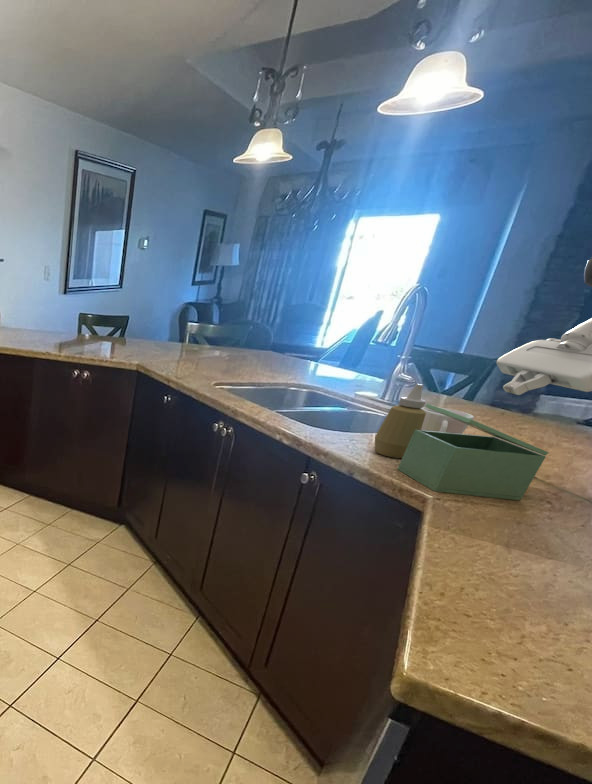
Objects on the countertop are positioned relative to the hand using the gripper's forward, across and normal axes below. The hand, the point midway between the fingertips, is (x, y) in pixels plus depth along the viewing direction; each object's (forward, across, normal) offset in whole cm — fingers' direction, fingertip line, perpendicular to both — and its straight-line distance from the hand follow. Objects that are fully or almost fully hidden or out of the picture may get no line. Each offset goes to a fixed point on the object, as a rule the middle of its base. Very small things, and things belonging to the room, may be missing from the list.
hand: (509, 391), depth 99 cm
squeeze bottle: (+18, -18, +12) cm, 28 cm away
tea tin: (+16, 0, +14) cm, 21 cm away
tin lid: (+7, 0, +5) cm, 9 cm away
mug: (+8, -26, +22) cm, 35 cm away
